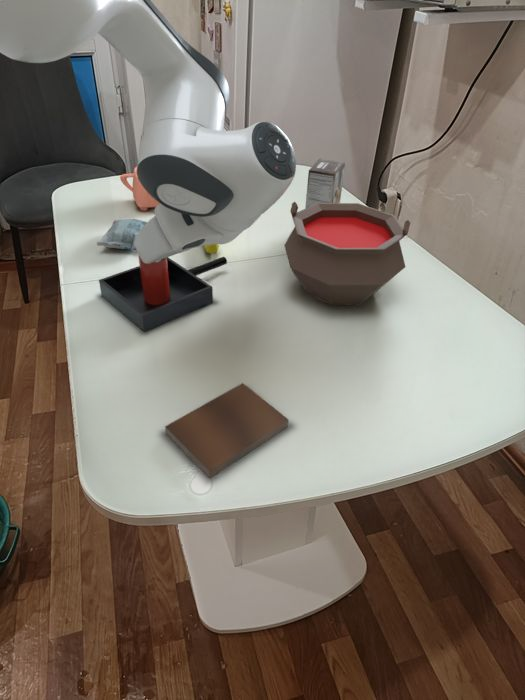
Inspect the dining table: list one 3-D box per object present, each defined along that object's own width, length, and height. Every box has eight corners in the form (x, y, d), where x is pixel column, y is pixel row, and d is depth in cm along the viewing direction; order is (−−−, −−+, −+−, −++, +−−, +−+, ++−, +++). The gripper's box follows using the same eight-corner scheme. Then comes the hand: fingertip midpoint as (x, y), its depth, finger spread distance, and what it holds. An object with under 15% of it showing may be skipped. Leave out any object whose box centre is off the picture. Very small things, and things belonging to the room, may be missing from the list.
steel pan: (144, 332, 89) (141, 315, 87) (101, 295, 98) (98, 279, 96) (248, 287, 103) (248, 271, 100) (202, 258, 111) (202, 243, 109)
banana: (210, 228, 123) (210, 203, 119) (221, 267, 108) (221, 239, 105) (198, 229, 123) (197, 204, 119) (207, 268, 108) (207, 240, 104)
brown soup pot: (264, 305, 98) (268, 225, 87) (296, 251, 116) (303, 179, 106) (390, 332, 92) (410, 250, 82) (403, 270, 110) (421, 197, 100)
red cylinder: (153, 308, 95) (147, 255, 88) (138, 297, 98) (131, 244, 91) (175, 299, 98) (171, 247, 91) (160, 288, 100) (155, 237, 94)
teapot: (116, 203, 133) (111, 164, 126) (150, 191, 140) (147, 153, 134) (155, 219, 126) (151, 178, 120) (188, 205, 134) (186, 166, 127)
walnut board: (209, 478, 65) (209, 471, 64) (165, 433, 71) (165, 426, 70) (287, 426, 73) (288, 419, 72) (242, 390, 79) (242, 382, 78)
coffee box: (312, 222, 128) (319, 157, 118) (337, 227, 127) (346, 161, 117) (301, 237, 121) (308, 169, 111) (327, 242, 120) (336, 174, 110)
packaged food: (98, 254, 111) (94, 233, 108) (115, 230, 120) (112, 210, 117) (137, 257, 110) (135, 236, 107) (151, 233, 120) (150, 214, 117)
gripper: (263, 175, 77) (223, 215, 89) (146, 207, 66) (118, 248, 78) (281, 212, 77) (239, 247, 89) (168, 251, 66) (137, 285, 78)
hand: (182, 248), depth 83 cm, fingers open, 8 cm apart
